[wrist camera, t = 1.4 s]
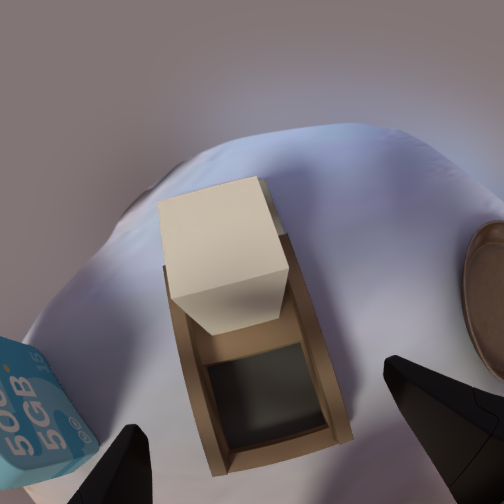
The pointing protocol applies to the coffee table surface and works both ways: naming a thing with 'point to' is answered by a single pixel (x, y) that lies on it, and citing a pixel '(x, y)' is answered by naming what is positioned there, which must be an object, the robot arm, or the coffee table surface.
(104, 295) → the coffee table surface
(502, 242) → the plant saucer
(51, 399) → the data package
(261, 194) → the cream block
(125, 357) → the coffee table surface
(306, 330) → the walnut channel
